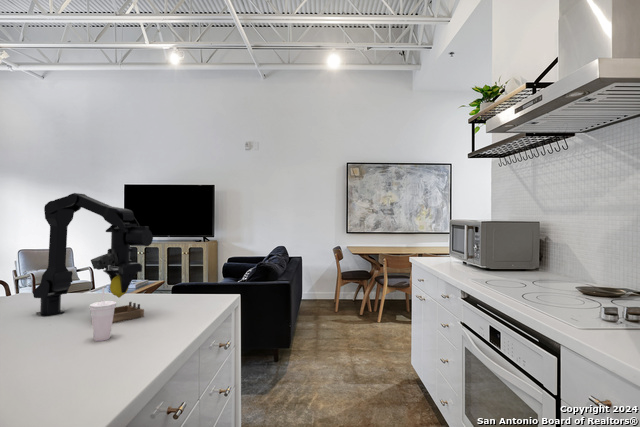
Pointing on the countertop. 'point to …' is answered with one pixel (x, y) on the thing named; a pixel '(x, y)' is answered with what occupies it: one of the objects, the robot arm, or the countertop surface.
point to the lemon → (116, 287)
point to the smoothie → (102, 318)
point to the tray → (127, 312)
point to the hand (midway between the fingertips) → (119, 291)
